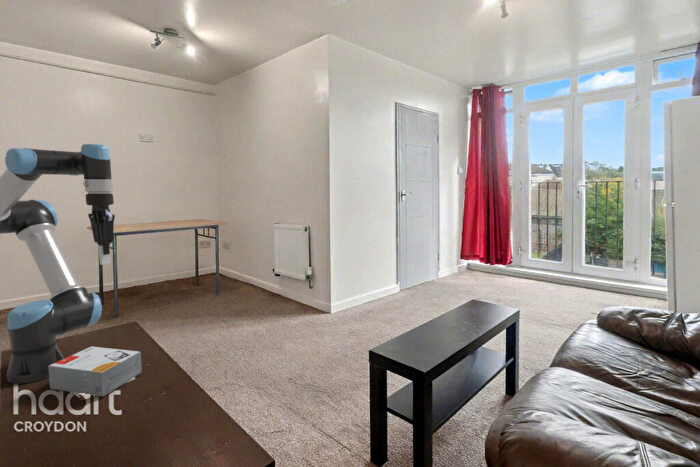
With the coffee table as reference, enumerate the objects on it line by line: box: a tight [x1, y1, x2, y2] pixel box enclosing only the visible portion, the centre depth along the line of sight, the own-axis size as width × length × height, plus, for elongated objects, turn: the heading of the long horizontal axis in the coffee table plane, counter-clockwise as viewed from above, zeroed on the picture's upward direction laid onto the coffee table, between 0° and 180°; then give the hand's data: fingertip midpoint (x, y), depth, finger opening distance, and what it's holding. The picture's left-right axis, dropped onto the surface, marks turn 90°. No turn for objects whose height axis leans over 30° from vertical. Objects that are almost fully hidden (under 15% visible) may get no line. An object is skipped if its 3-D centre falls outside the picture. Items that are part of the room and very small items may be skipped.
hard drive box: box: [48, 346, 143, 397], centre depth 120 cm, size 16×8×20 cm
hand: (105, 263), depth 126 cm, fingers closed
